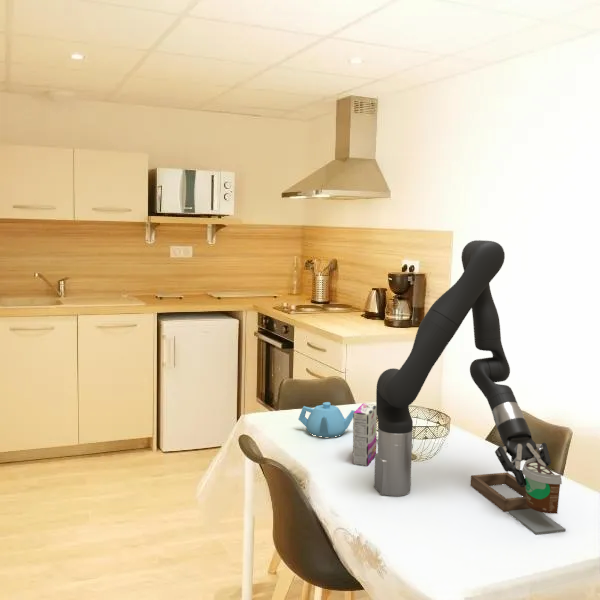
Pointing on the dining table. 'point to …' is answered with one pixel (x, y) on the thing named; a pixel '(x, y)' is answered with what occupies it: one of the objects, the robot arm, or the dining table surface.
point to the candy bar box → (364, 434)
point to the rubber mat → (536, 521)
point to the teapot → (325, 420)
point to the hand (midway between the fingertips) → (535, 484)
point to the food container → (541, 487)
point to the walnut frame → (505, 504)
